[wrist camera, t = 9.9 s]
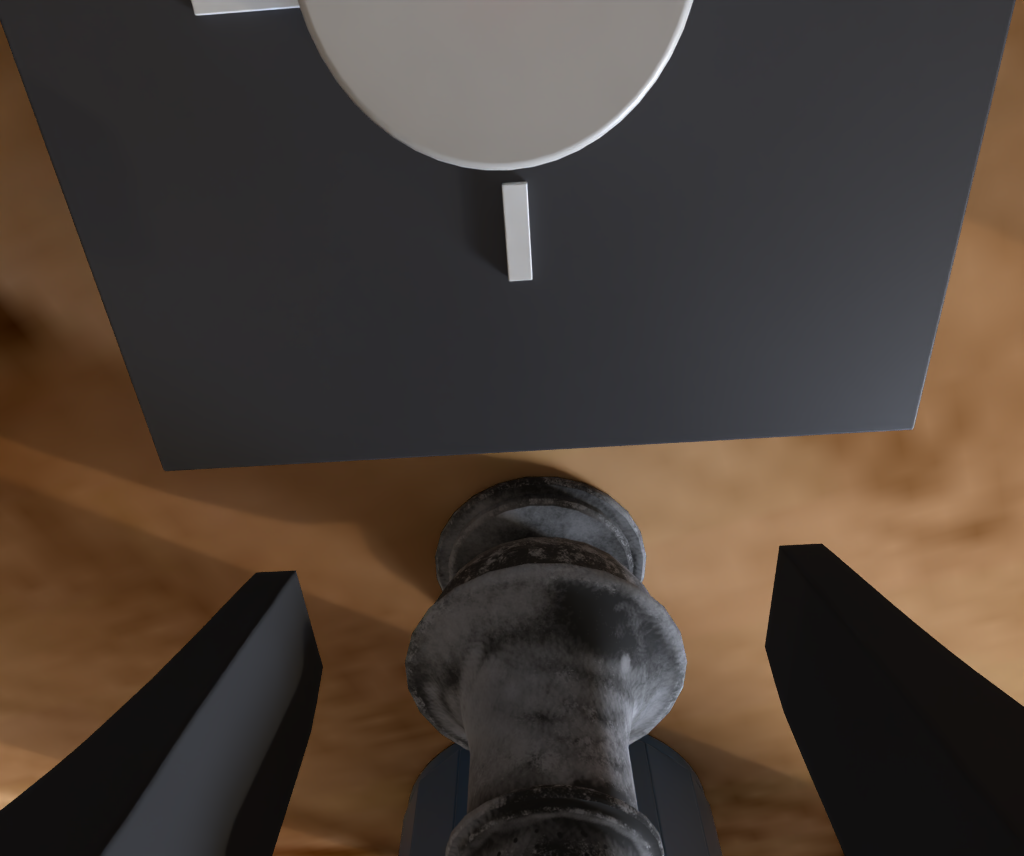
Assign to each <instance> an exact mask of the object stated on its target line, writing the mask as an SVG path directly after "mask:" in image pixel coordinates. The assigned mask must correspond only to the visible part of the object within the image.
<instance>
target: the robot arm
mask: <svg viewBox="0 0 1024 856" xmlns="http://www.w3.org/2000/svg"><path fill="white" fill-rule="evenodd" d="M765 648H766V652H767V656H768V659H769V663H770V667H771V670H772V674H773V677H774V681H775V684H776V688H777V691H778V694H779V698H780V701H781V704H782V708H783V711H784V714H785V716H786V718H787V721H788V723H789V726H790V728H791V731H792V733H793V735H794V738H795V740H796V742H797V745H798V747H799V750H800V752H801V754H802V757H803V759H804V761H805V764H806V766H807V769H808V771H809V773H810V776H811V778H812V780H813V783H814V785H815V787H816V790H817V792H818V794H819V797H820V799H821V801H822V804H823V806H824V808H825V811H826V813H827V815H828V818H829V820H830V822H831V825H832V827H833V829H834V832H835V834H836V836H837V839H838V841H839V843H840V846H841V848H842V850H843V853H844V855H845V856H1024V706H1022V705H1021V704H1019V703H1018V702H1017V701H1015V700H1014V699H1013V698H1011V697H1010V696H1009V695H1007V694H1006V693H1005V692H1003V691H1002V690H1000V689H999V688H998V687H996V686H995V685H994V684H992V683H991V682H990V681H988V680H987V679H986V678H984V677H983V676H982V675H980V674H979V673H977V672H976V671H975V670H973V669H972V668H971V667H970V666H968V665H967V664H966V663H964V662H963V661H962V660H961V659H959V658H958V657H957V656H955V655H954V654H953V653H952V652H950V651H949V650H948V649H947V648H945V647H944V646H943V645H942V644H940V643H939V642H938V641H937V640H935V639H934V638H933V637H932V636H930V635H929V634H928V633H927V632H925V631H924V630H923V629H922V628H921V627H919V626H918V625H917V624H916V623H914V622H913V621H912V620H911V619H910V618H908V617H907V616H906V615H905V614H904V613H902V612H901V611H900V610H899V609H898V608H896V607H895V606H894V605H893V604H892V603H891V602H889V601H888V600H887V599H886V598H885V597H884V596H882V595H881V594H880V593H879V592H878V591H877V590H875V589H874V588H873V587H872V586H871V585H870V584H868V583H867V582H866V581H865V580H864V579H863V578H862V577H860V576H859V575H858V574H857V573H856V572H855V571H853V570H852V569H851V568H850V567H849V566H848V565H846V564H845V563H844V562H843V561H842V560H841V559H840V558H838V557H837V556H836V555H835V554H834V553H832V552H831V551H830V550H829V549H828V548H826V547H825V546H824V545H823V544H805V545H785V546H779V553H778V560H777V567H776V574H775V581H774V588H773V595H772V601H771V608H770V615H769V622H768V629H767V636H766V643H765ZM322 669H323V665H322V662H321V658H320V655H319V651H318V648H317V644H316V641H315V637H314V633H313V630H312V626H311V623H310V619H309V616H308V612H307V608H306V605H305V601H304V598H303V594H302V591H301V587H300V584H299V580H298V576H297V573H296V571H277V572H258V573H255V574H254V575H253V576H252V577H251V578H250V579H249V580H248V581H247V582H246V583H245V584H244V585H243V586H242V587H241V588H240V589H239V590H238V591H237V592H236V593H235V594H234V596H233V597H232V598H231V599H230V600H229V601H228V602H227V603H226V604H225V605H224V606H223V607H222V608H221V609H220V610H219V611H218V612H217V613H216V614H215V615H214V616H213V617H212V618H211V620H210V621H209V622H208V623H207V624H206V625H205V626H204V627H203V628H202V629H201V630H200V631H199V632H198V633H197V634H196V635H195V636H194V637H193V638H192V639H191V640H190V641H189V642H188V643H187V644H186V645H185V646H184V647H183V648H182V649H181V650H180V651H179V652H178V653H177V654H176V655H175V656H174V657H173V658H172V659H171V660H170V661H169V662H168V663H167V664H166V665H165V666H164V667H163V668H162V669H161V670H160V671H159V672H158V673H157V674H156V675H155V676H154V677H153V678H152V679H151V680H150V681H149V682H148V683H147V684H146V685H145V686H144V687H143V688H142V689H141V690H139V691H138V692H137V693H136V694H135V695H134V696H133V697H132V698H131V699H130V700H129V701H128V702H127V703H126V704H124V705H123V706H122V707H121V708H120V709H119V710H118V711H117V712H116V713H115V714H114V715H113V716H112V717H110V718H109V719H108V720H107V721H106V722H105V723H104V724H103V725H102V726H101V727H100V728H99V729H98V730H96V731H95V732H94V733H93V734H92V735H91V736H90V737H89V738H88V739H87V740H85V741H84V742H83V743H82V744H81V745H80V746H79V747H77V748H76V749H75V750H74V751H73V752H72V753H70V754H69V755H68V756H67V757H66V758H65V759H63V760H62V761H61V762H60V763H59V764H58V765H56V766H55V767H54V768H53V769H52V770H50V771H49V772H48V773H47V774H45V775H44V776H43V777H42V778H40V779H39V780H38V781H37V782H35V783H34V784H33V785H32V786H31V787H29V788H28V789H27V790H26V791H24V792H23V793H22V794H21V795H19V796H18V797H17V798H16V799H14V800H13V801H12V802H11V803H9V804H8V805H7V806H6V807H4V808H3V809H2V810H0V856H272V854H273V851H274V848H275V845H276V842H277V839H278V836H279V832H280V829H281V826H282V823H283V820H284V817H285V814H286V810H287V807H288V804H289V801H290V798H291V795H292V792H293V788H294V785H295V782H296V779H297V776H298V772H299V769H300V766H301V763H302V760H303V756H304V753H305V750H306V747H307V743H308V740H309V737H310V733H311V729H312V724H313V719H314V714H315V709H316V704H317V698H318V692H319V687H320V681H321V675H322Z"/></svg>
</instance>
